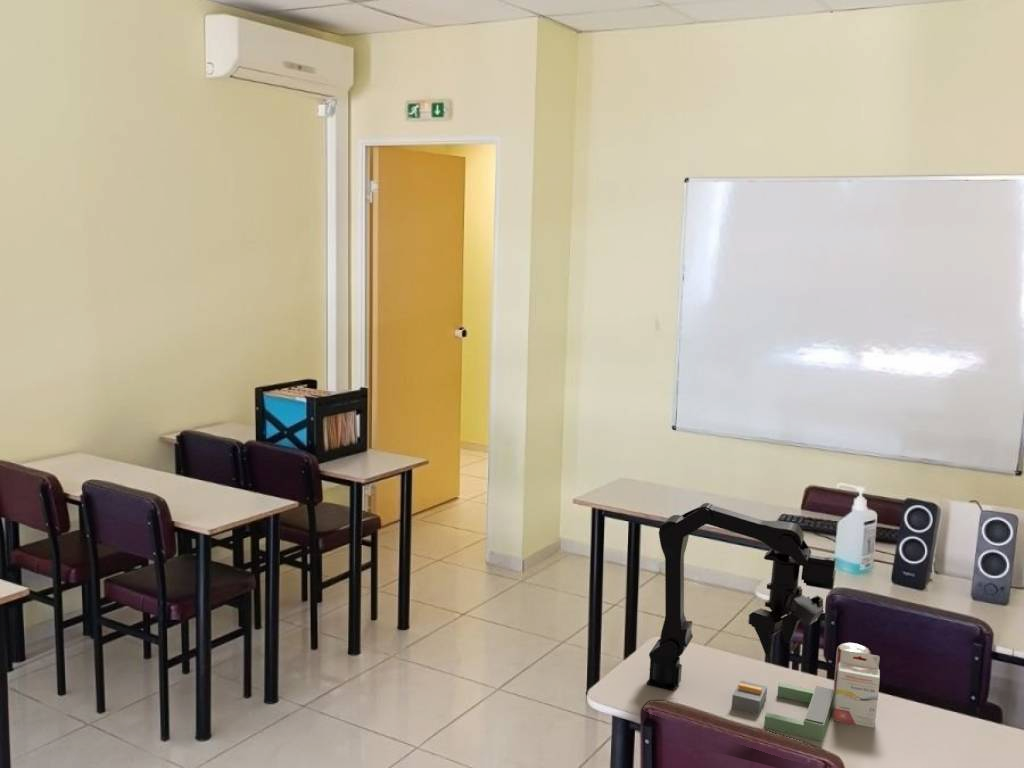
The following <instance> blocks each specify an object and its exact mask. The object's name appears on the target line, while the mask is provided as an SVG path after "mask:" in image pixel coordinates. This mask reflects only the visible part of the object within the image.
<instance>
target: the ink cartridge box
mask: <svg viewBox="0 0 1024 768" xmlns="http://www.w3.org/2000/svg"><path fill="white" fill-rule="evenodd" d="M859 656H861V657H862V658H865V659H867V660H866V661H862V660H857V659H853V657H859ZM880 660H881V659H880V655H876V654H872V653H871V654H865V653H860V652H854V651H847V650H841V656H840V662H839V666H838V676H837V686H836V695H835V696H834V704H833V707H834V708H833V720H834V721H838V722H842V723H847V724H852V725H857V726H862V727H866V728H871V729H875V728H876V718H877V710H878V709H877V708H878V699H879V689H880V679H881V678H880V676H881V675H880V673H881V672H880V671H881V670H880V669H879V668H880V667H879V665H880Z"/></svg>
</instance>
